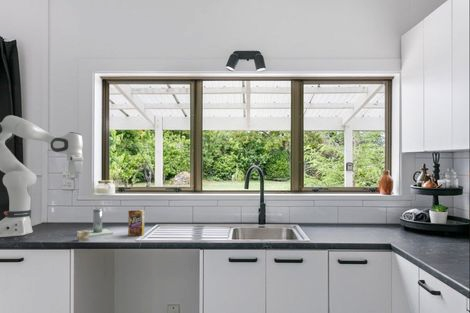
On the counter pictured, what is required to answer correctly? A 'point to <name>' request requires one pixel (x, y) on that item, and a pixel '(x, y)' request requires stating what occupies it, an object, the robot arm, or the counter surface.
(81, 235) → the maple cube
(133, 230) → the candy box
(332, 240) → the counter surface
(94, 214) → the tin
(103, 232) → the pad
